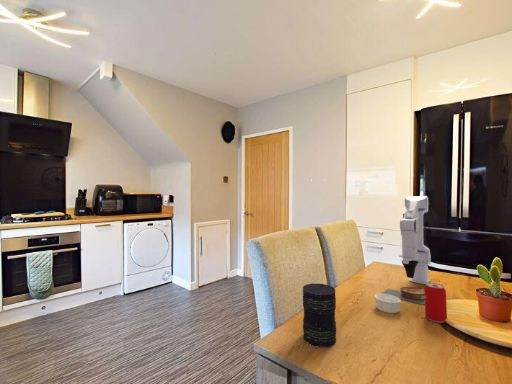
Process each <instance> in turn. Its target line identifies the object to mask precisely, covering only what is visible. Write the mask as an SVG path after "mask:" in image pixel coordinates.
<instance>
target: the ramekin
mask: <svg viewBox="0 0 512 384" xmlns="http://www.w3.org/2000/svg"><path fill="white" fill-rule="evenodd" d="M374 298H375V305H376V308H377V309H378V310H379V311H381V312H384V313H389V314H397V313H399V312H400V311H401V309H400V308H401V302H402V300H401V299H399V298H398V297H396V296H393V295H389V294H381V293H377V294H375V295H374Z"/></svg>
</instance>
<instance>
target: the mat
mask: <svg viewBox="0 0 512 384" xmlns="http://www.w3.org/2000/svg"><path fill="white" fill-rule="evenodd" d="M380 294H389V295H393V296H396V297H398V298H399V299H400V300H401V301H405V302H409V303H414V304H418V305H422V306H425V300H415V299H409V298H406V297H404V296H403V295H402V294H401V290H398V289H393V288H387V289H385V290H384V291H383V292H381V293H380Z"/></svg>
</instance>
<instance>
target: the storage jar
mask: <svg viewBox="0 0 512 384" xmlns="http://www.w3.org/2000/svg"><path fill="white" fill-rule="evenodd" d="M336 299H337V298H336V289H335V287H333V286H331V285H329V284H325V283H324V284H323V283H307V284H305V285H303V287H302V307H303V318H302V331H303V335H302V336H303V337H304V338H303V337H302V338H303V340H304V342H306V343H307V342H308V343H309V344H308V343H307V344H308V345H310V344H311V345H310V346H312V345H313V346H312V347H315V346H318V347H317V348H319V347H322V348H321V349H326V347H327V348H331V347H333V346H335V345H336V343H337V322H336V310H337V309H336V308H337V306H336V303H337V300H336ZM323 347H324V348H323Z"/></svg>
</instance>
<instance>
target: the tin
mask: <svg viewBox="0 0 512 384" xmlns="http://www.w3.org/2000/svg"><path fill="white" fill-rule="evenodd" d="M424 288H425V287H418V286H417V287H415V286H403V287H400V291H401V294H402V295H403V296H404V297H406V298H409V299H415V300H425V292H424Z"/></svg>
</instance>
